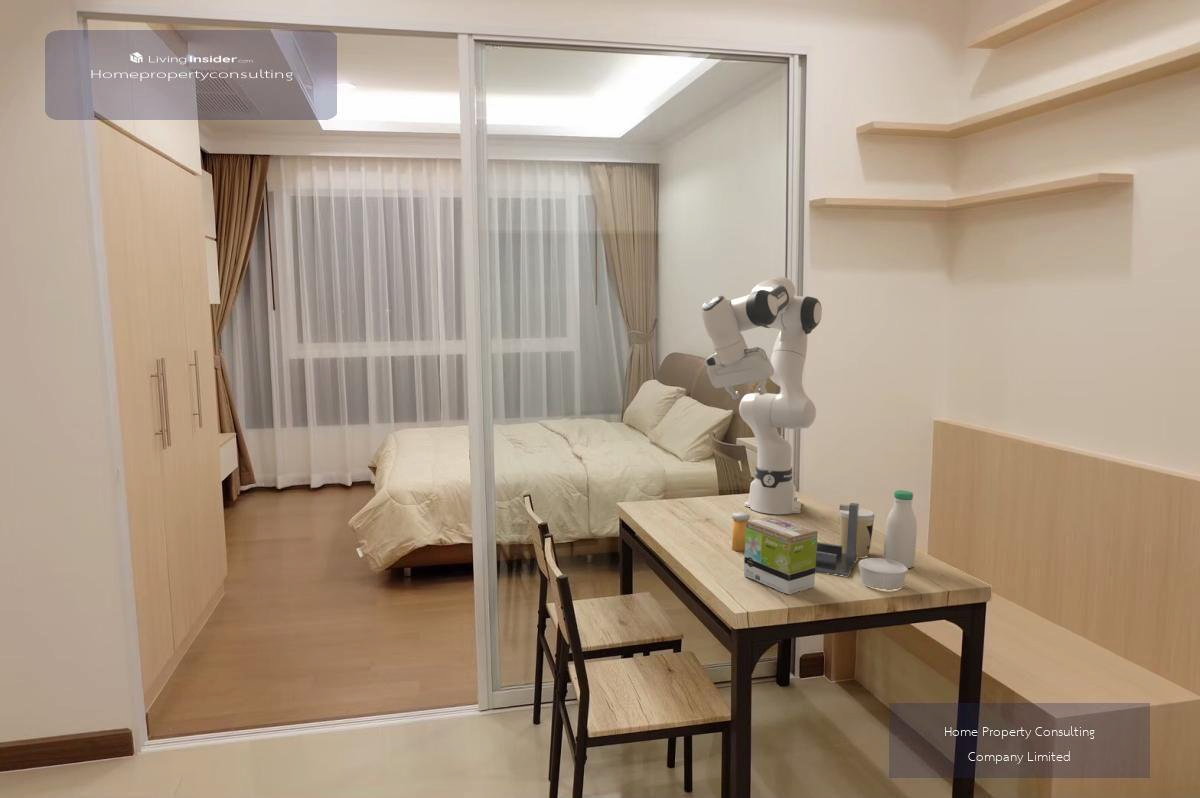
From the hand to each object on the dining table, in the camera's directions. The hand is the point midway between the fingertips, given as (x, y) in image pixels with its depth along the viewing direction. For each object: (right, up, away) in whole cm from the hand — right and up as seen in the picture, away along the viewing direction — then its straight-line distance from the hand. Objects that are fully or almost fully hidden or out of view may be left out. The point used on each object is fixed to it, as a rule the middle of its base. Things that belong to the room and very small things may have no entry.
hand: (750, 396), depth 222 cm
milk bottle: (+37, -45, -16) cm, 60 cm away
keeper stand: (+18, -45, -17) cm, 51 cm away
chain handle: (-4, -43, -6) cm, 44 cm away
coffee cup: (+28, -44, -7) cm, 53 cm away
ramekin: (+27, -47, -31) cm, 62 cm away
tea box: (+1, -47, -30) cm, 56 cm away
